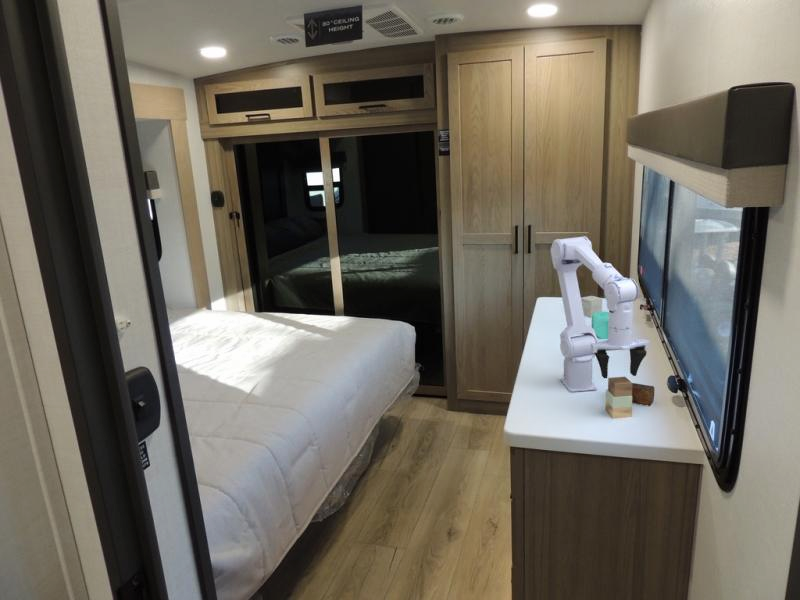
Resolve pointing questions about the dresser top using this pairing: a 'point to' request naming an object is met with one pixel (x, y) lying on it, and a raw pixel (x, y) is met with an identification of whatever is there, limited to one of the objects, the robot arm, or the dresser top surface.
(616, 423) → the dresser top surface
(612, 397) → the sage block
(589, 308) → the product box
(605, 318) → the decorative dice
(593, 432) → the dresser top surface
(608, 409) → the oak block
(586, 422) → the dresser top surface
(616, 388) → the walnut block
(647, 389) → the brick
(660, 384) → the dresser top surface
